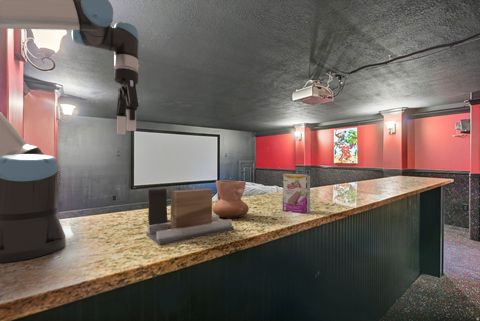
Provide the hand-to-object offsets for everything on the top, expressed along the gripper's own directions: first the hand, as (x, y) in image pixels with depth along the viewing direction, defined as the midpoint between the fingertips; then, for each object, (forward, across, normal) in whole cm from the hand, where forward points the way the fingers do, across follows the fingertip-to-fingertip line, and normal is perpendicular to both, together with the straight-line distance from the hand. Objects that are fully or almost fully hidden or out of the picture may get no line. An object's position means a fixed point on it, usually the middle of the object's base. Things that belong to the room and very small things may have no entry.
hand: (126, 132), depth 85 cm
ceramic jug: (+32, -10, -37) cm, 50 cm away
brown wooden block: (+31, -22, -14) cm, 40 cm away
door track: (+32, -22, -14) cm, 41 cm away
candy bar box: (+32, -21, -65) cm, 75 cm away
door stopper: (+32, -3, -10) cm, 34 cm away
